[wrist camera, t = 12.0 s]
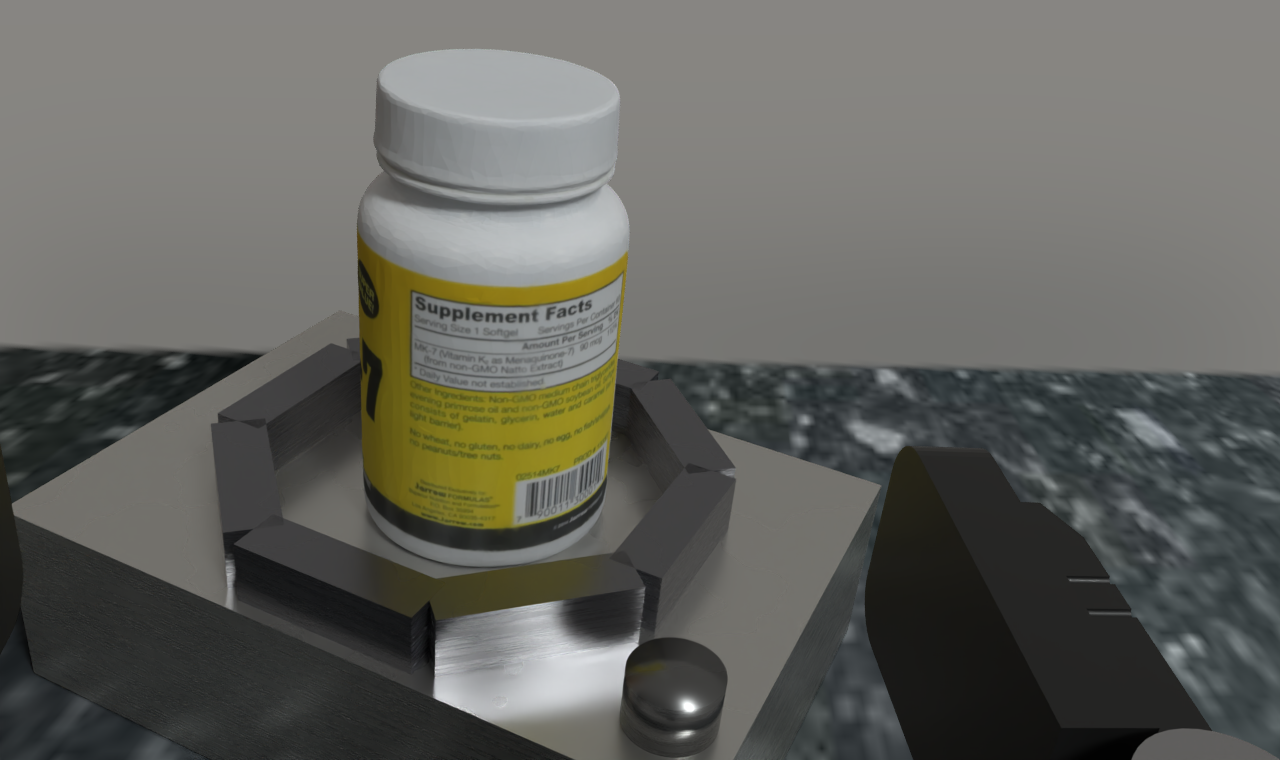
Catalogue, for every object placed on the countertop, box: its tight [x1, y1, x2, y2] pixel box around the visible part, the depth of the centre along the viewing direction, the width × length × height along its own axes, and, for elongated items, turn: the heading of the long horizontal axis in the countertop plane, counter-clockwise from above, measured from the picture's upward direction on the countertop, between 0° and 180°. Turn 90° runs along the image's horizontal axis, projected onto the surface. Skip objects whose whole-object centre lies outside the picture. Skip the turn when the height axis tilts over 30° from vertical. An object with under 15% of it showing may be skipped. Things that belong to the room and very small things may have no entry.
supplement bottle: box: [357, 49, 630, 567], centre depth 22 cm, size 5×5×8 cm
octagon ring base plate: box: [12, 311, 881, 760], centre depth 25 cm, size 14×10×5 cm
